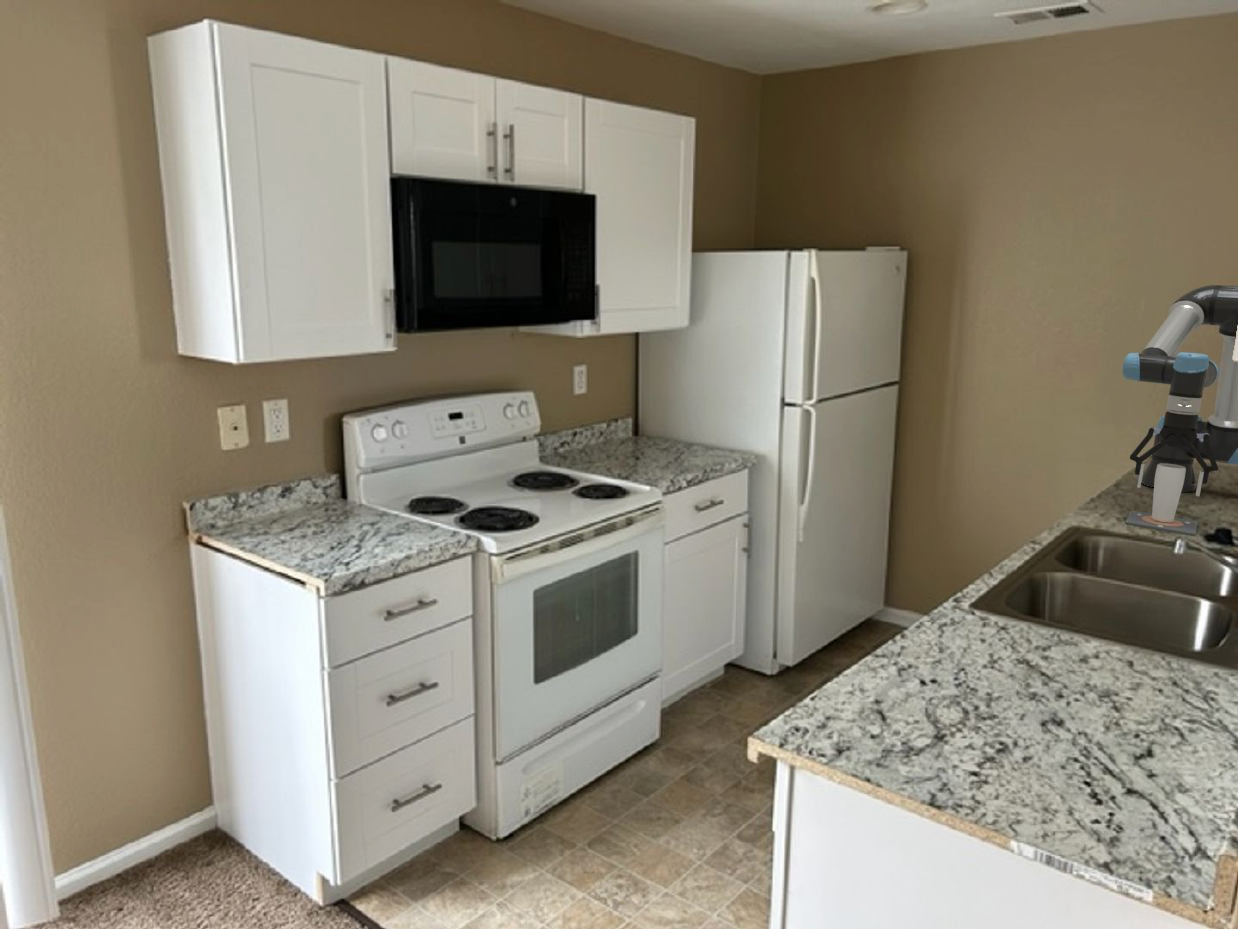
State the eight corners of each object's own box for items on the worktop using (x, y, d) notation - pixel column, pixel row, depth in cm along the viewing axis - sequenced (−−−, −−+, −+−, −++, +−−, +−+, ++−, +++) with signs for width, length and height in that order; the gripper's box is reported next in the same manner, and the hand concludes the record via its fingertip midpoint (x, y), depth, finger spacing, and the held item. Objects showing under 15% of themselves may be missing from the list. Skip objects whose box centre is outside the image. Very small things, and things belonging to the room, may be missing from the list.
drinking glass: (1169, 518, 252) (1178, 464, 249) (1181, 524, 245) (1191, 469, 242) (1143, 516, 252) (1152, 462, 249) (1154, 523, 246) (1164, 467, 243)
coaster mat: (1131, 512, 260) (1131, 509, 260) (1197, 523, 251) (1198, 520, 251) (1125, 524, 247) (1125, 521, 246) (1195, 536, 238) (1195, 533, 238)
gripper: (1128, 408, 245) (1114, 486, 250) (1239, 420, 233) (1223, 501, 238) (1128, 405, 252) (1115, 481, 256) (1237, 416, 240) (1221, 496, 244)
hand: (1167, 491), depth 247 cm, fingers open, 13 cm apart
